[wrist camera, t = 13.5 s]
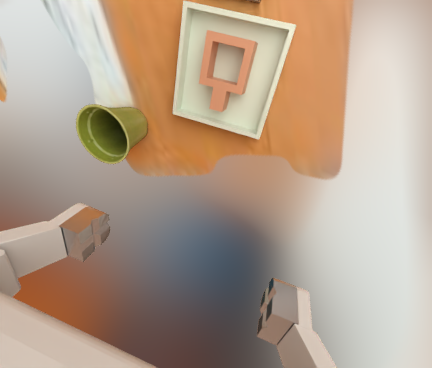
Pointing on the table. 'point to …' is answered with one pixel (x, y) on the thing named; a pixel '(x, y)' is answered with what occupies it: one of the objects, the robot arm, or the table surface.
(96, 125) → the plant pot
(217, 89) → the orange frame with handle
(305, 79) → the table surface
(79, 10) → the table surface
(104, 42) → the table surface
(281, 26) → the tray
